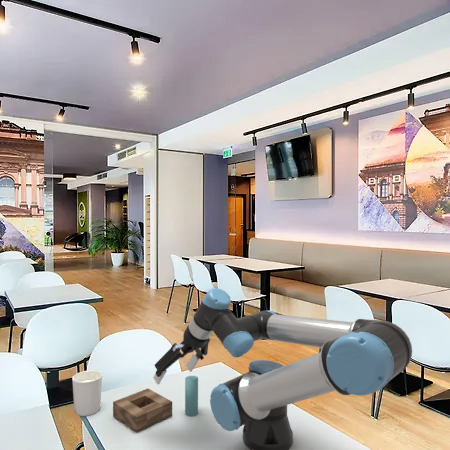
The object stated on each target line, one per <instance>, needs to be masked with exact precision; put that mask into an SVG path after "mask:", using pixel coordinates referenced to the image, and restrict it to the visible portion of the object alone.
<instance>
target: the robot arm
mask: <svg viewBox="0 0 450 450" xmlns="http://www.w3.org/2000/svg"><path fill="white" fill-rule="evenodd" d="M231 303H232V299H231V297H230V295H229V293H227V291H225V290H224V289H222V288H218V287H214V288H210V289H209V290H208V291H207V292H206V293H205V295H204V297H203V298H202V300H201V301H200V303H199V306H198V307H197V309H196V311H195V313H194V315H193V316H192V318H191V320H190V322H189V324H188V325H187V326H186V328H185V330H184V332H183V334H182V335H183V340H182V342H180V343H179V344H177V342H174V343H173V344H172V345H171V347H170V348H169V349H168V350H167V351H166V353H165V354H163V356H161V357H160V358H159V359H158V361H156V363H154V368H155V369H156V371H155V374H154V375H153V380H154V382H155V383H156V385H157V386H158V385H160V384H161V382H162V380H163V378H164V377H165V375H166V373H167V369H169V368H170V367H172V365H173V364H175V363H176V362H177V361H179V359H181V358H184V357H185V356H187V355H188V354H190V353H192V355H191V357H190V358H189V359H188V362H186V365H185V367H186V368H187V369H188V371H189V372H190V373H191V372H193V370H194V368H195V367H196V365H197V364H198V362H199V360H200V361H202V360H204V359H205V357H204V356H207V355H208V353H209V352H208V351H209V343H210V341H211V339H210V337H211V336H212V335H213V333H214V335H215V336H216V337H217V338H218V340H219V342H220V343H221V344H222V346H223V348H224V349H225V350H227V352H228V353H229V354H230V355H231V356H232V357H233V358H240V357H242V356H244V355H245V354H247V353H248V352H249V351H250V350H251V349H252V348H253V346H254V344H255V342H256V341H259V340H263V339H265V340H270V341H277V342H283V343H288V344H293V345H301V346H306V347H312V348H318V349H320V351H319V352H317V353H315V354H312V355H310V356H307V357H304V358H302V359H301V358H300V359H298V360H297V361H293V362H291V363H289V364H285V365H283V364H281V363H280V362H277V361H273V360H266V359H256V360H255V359H254V360H251V361H250V362H249V365H248V371H247V372H246V373H243V374H241V375H239V376H237V377H234V378H232V379H229V380H227V381H225V382H223V383H219V384H218V385H217V386H215V387H214V388H213V389H212V390H211V393H210V398H209V399H210V400H209V403H210V408H211V413H212V415H213V417H214V419H215V421H216V422H217V424H218V425H219V426H220V427H221V428H222V429H223V430H224V431H227V432H233V431H235V430H239V429H240V427H242V426H243V429H242V441H243V444H244V445H245V446H247V448H249V449H251V450H289V449H290V448H291V447H292V446H293V443H294V441H293V440H294V438H293V437H294V433H293V430H292V427H291V424H290V421H289V416H288V405H291V404H294V403H298V402H301V401H305V400H308V399H312V398H315V397H319V396H322V395H326V394H329V393H332V392H336V393H338V394H340V395H342V396H350V395H352V396H353V395H354V396H360V397H361V396H367V395H371V394H374V393H377V392H379V391H381V390H382V389H384V387H385V386H386V385H388V383H389V382H390V381H391V380H393V379H394V378H395V377H396V376H398V375H399V374H400V373H402V372H403V371H405V369H406V368H407V367H408V366H409V364H410V363H411V359H412V356H413V347H412V342H411V339H410V338H409V336H408V334H407V333H406V332H405V330H403V329H402V328H401V327H400V326H399V325H397V324H395V323H393V322H390V321H387V320H379V319H365V318H357V319H355V321H344V320H335V319H334V320H333V319H327V318H326V319H323V318H313V317H308V316H307V317H306V316H305V317H304V316H295V315H287V314H277V313H275V311H273V310H270V309H269V310H261V311H258V312H256V313H253V314H250V315H246V316H243V317H239V318H238V317H236V316H235V314H234V313H233V312H232V310H231V309H230V305H231ZM288 448H289V449H288Z"/></svg>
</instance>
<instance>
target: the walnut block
mask: <svg viewBox="0 0 450 450" xmlns="http://www.w3.org/2000/svg"><path fill="white" fill-rule="evenodd" d="M112 417H114V419H116V420H118V421H119V422H121V423H122V424H123V425H125V426H126V427H127V428H128V429H129V430H131V431H133V432H134V433H136V434H137V433H139V432H142V431H145V430H146V429H149V428H150V427H153V426H154V425H157V424H159V423H161V422H163V421H165V420H167V419H170V418H171V417H173V401H172V400H171V399H168V398H166V397H165V396H163V395H162V394H159V393H157V392H156V391H153V390H151V389H150V388H145V389H143V390H140V391H137V392H135V393H132V394H129V395H127V396H125V397H122V398H120V399H117V400H114V401H113V402H112Z"/></svg>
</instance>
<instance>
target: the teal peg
mask: <svg viewBox="0 0 450 450" xmlns="http://www.w3.org/2000/svg"><path fill="white" fill-rule="evenodd" d="M184 379H185V381H184V386H185V387H184V414H185V415H186V416H188V417H196V416H197V415H198V413H199V377H198V376H196V375H188V376H186V377H185V378H184Z"/></svg>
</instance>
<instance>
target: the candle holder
mask: <svg viewBox="0 0 450 450" xmlns="http://www.w3.org/2000/svg"><path fill="white" fill-rule="evenodd" d="M71 378H72V379H71V380H72V394H73V395H72V396H73V408H74V413H75V415H76V416H79V417H88V416H89V417H90V416H93V415H95V414H97V413H98V412H99V411H100V409H101V404H102V403H101V399H102V398H101V397H102V383H103V382H102V381H103V372H101V371H98V370H84V371H81V372H77V373H75V374H74V375H73V376H72V377H71Z"/></svg>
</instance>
